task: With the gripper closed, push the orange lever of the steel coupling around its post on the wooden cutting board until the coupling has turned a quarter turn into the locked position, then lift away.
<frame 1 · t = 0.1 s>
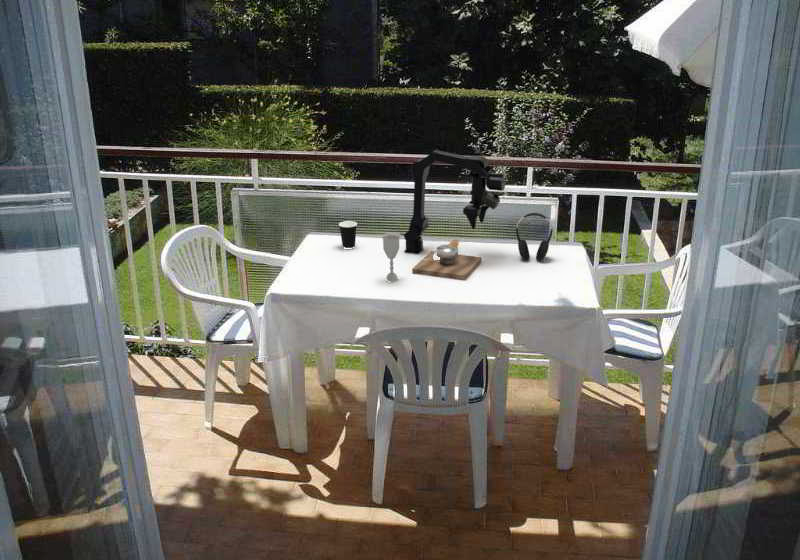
hand: (477, 225, 316), 15 cm above the table, tool pointing down, fingers open, 9 cm apart
wooden cutting board: (447, 267, 312), on the table
dixie cup: (348, 248, 336), on the table
headphones: (532, 260, 320), on the table
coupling: (450, 248, 313), point 7 cm above the table, hinge at 0.0°
chalice: (391, 280, 301), on the table
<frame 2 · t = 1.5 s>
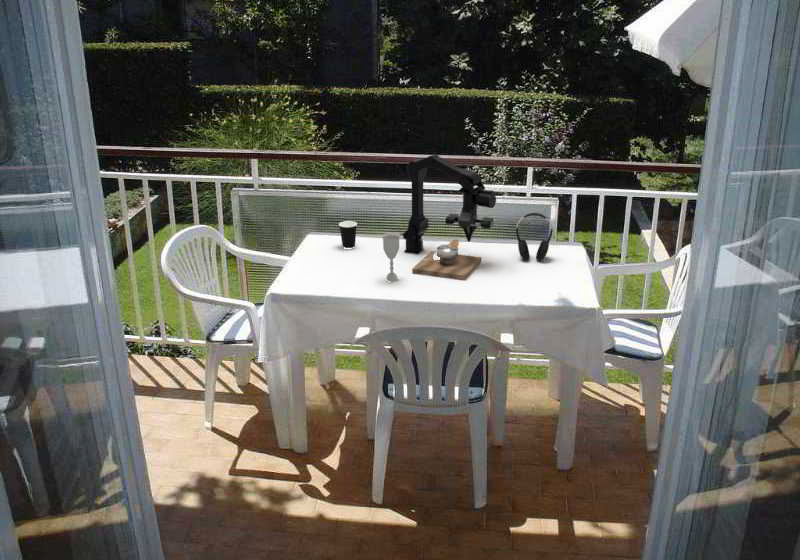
hand: (469, 241, 313), 9 cm above the table, tool pointing down, fingers closed
nothing on the table moved.
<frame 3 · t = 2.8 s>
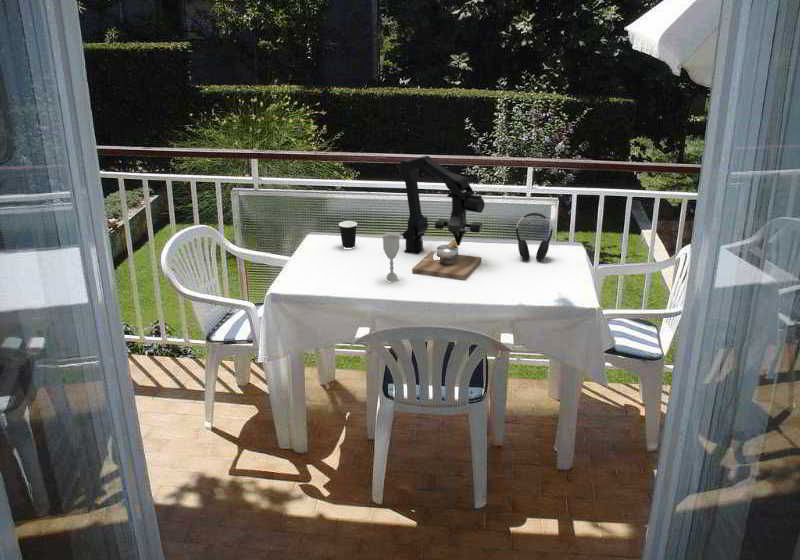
hand: (458, 245, 316), 7 cm above the table, tool pointing down, fingers closed
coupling: (450, 248, 313), point 7 cm above the table, hinge at 0.1°, touching gripper
everything else where it was.
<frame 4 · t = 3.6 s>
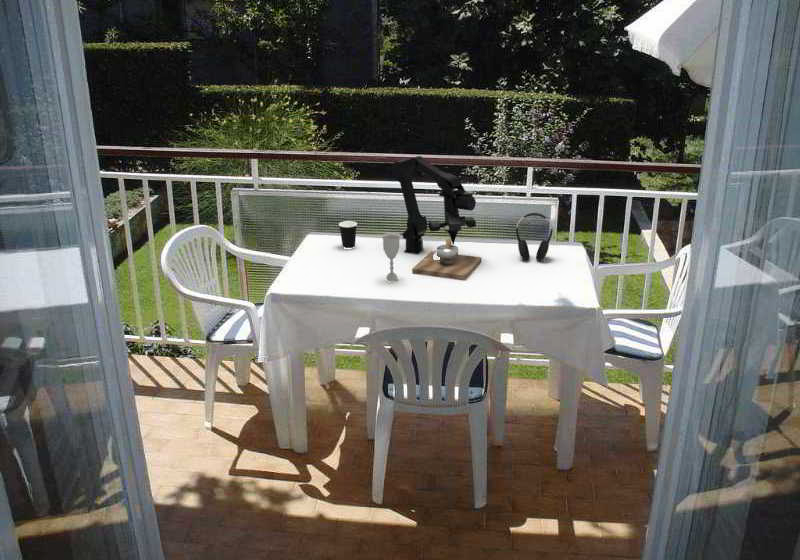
hand: (453, 244, 317), 7 cm above the table, tool pointing down, fingers closed
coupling: (448, 248, 313), point 7 cm above the table, hinge at 16.1°, touching gripper
everything else where it was.
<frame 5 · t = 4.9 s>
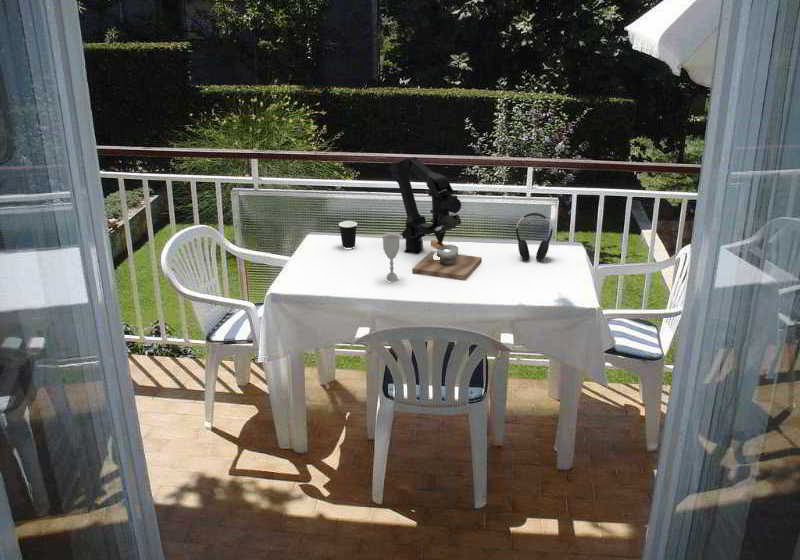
hand: (440, 244, 317), 7 cm above the table, tool pointing down, fingers closed
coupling: (443, 249, 312), point 7 cm above the table, hinge at 52.4°, touching gripper
everything else where it was.
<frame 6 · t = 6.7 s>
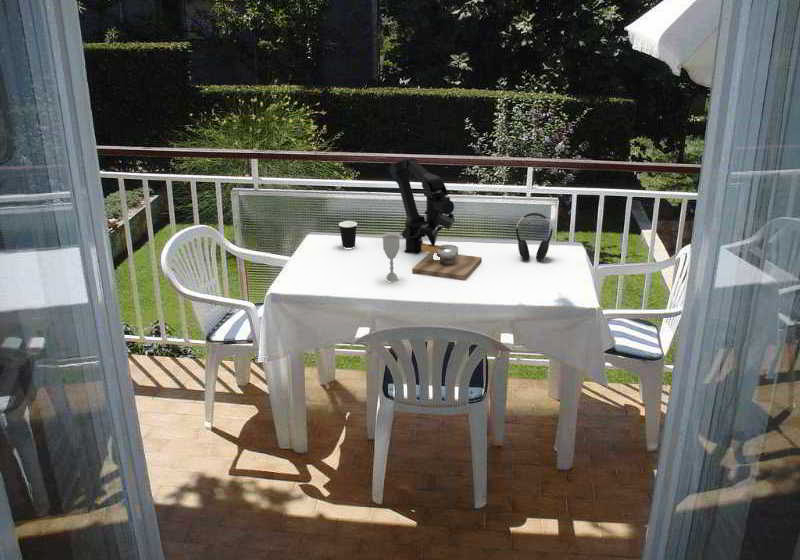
hand: (433, 244, 317), 7 cm above the table, tool pointing down, fingers closed
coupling: (439, 250, 311), point 7 cm above the table, hinge at 87.8°
everything else where it was.
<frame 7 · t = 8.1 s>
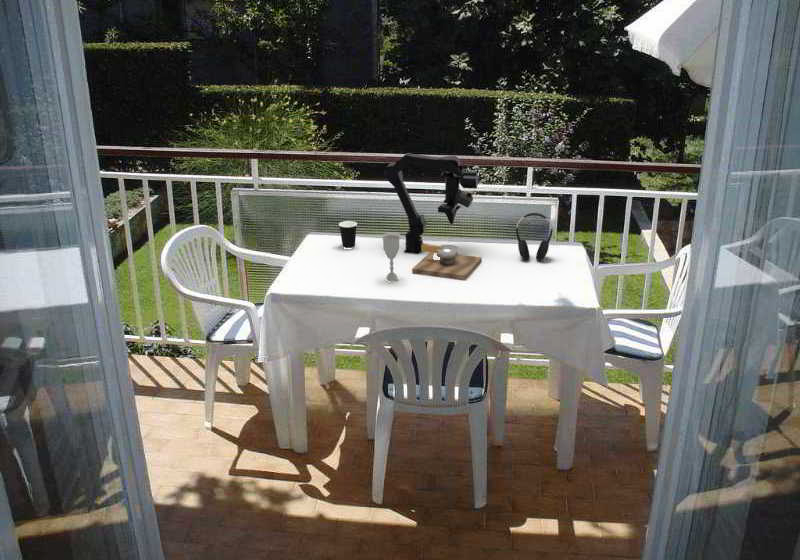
hand: (451, 223, 323), 13 cm above the table, tool pointing down, fingers closed
nothing on the table moved.
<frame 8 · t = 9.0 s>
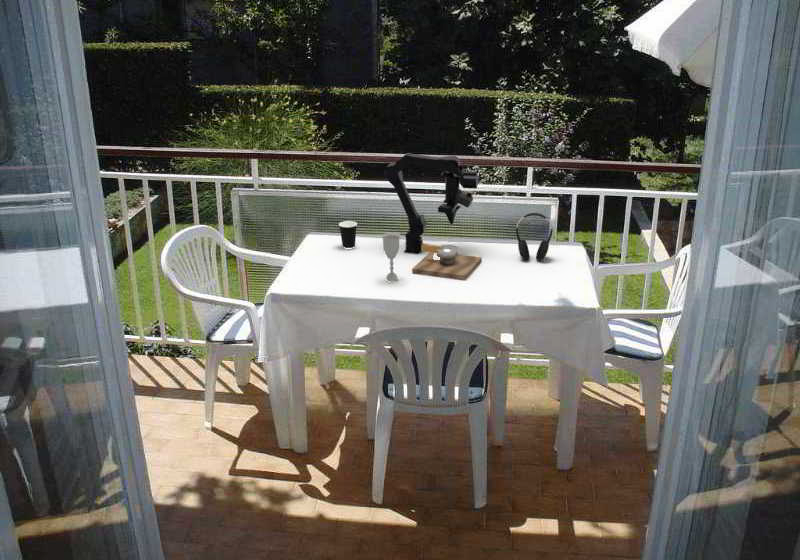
hand: (451, 223, 323), 13 cm above the table, tool pointing down, fingers closed
nothing on the table moved.
at the end: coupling at +88° (first picture: +0°); chalice moved 0.2 cm from its start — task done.
